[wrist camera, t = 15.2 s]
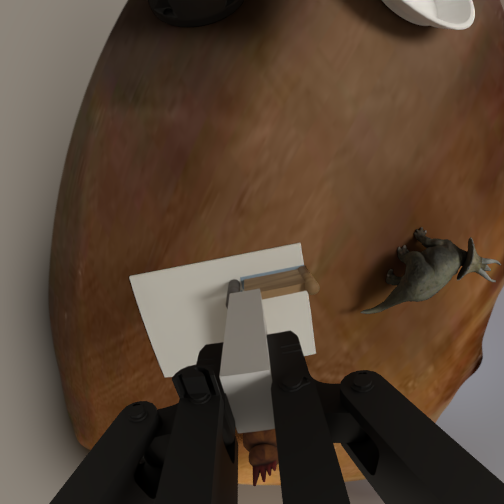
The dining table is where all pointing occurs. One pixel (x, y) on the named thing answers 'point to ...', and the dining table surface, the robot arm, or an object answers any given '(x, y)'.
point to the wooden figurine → (261, 452)
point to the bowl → (435, 12)
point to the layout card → (215, 304)
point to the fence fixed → (278, 284)
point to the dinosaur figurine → (431, 270)
